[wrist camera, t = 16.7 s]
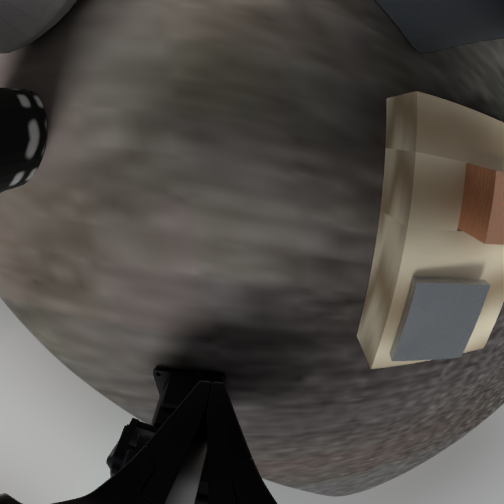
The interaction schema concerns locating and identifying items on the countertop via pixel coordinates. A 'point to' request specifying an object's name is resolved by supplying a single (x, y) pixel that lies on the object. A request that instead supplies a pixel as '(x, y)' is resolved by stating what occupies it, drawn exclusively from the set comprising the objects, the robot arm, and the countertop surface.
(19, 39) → the coffee pot
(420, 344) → the latch flap
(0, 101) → the white-spotted black cylinder
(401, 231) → the block
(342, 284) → the countertop surface
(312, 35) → the countertop surface
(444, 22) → the storage bin
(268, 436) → the countertop surface
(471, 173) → the peg
